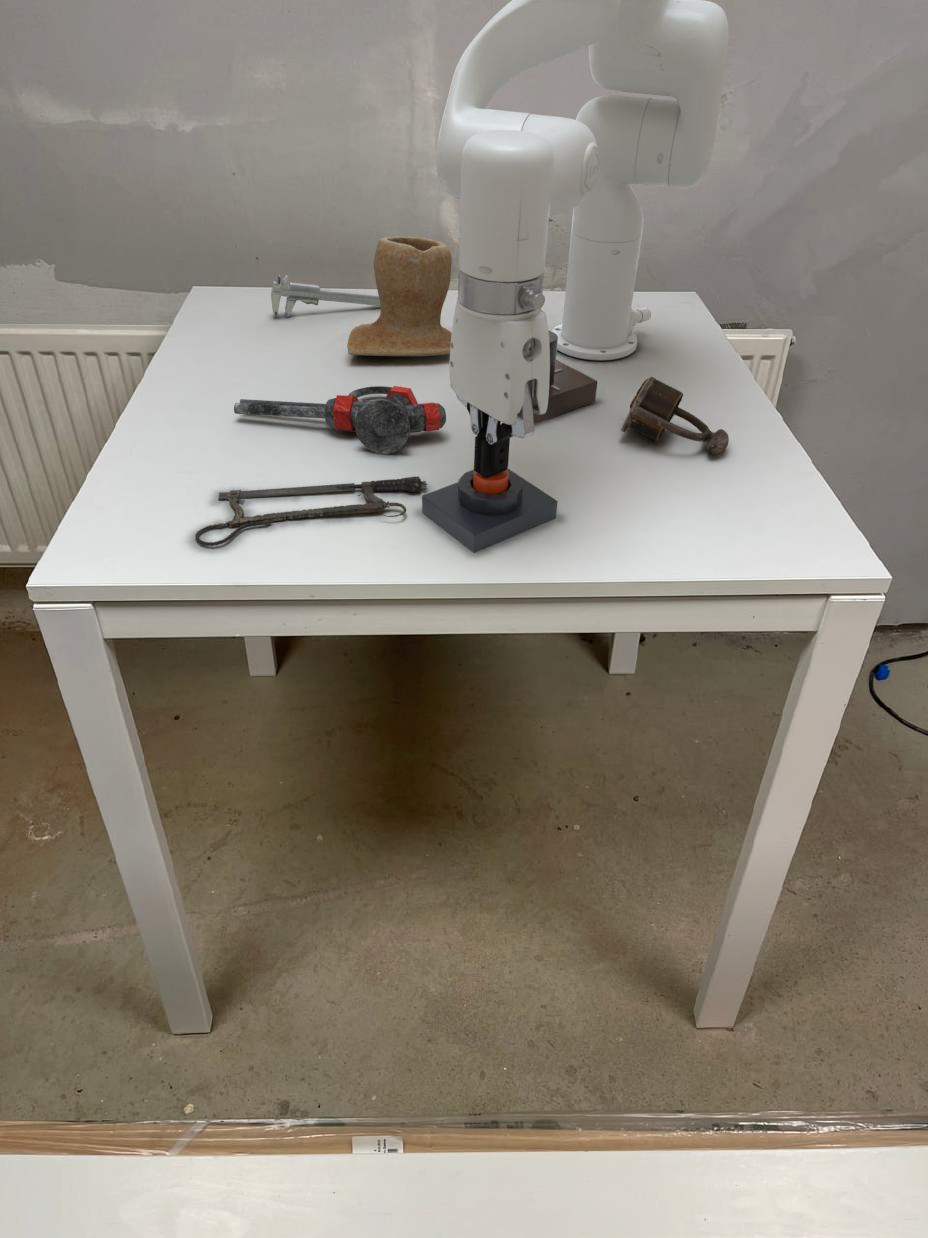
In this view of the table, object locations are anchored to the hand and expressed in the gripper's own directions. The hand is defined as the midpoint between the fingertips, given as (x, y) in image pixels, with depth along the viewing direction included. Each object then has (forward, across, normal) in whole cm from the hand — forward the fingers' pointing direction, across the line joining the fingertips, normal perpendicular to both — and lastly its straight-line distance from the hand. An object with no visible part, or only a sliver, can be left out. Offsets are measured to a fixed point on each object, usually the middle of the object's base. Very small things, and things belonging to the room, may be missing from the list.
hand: (490, 470), depth 91 cm
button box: (+6, 0, 0) cm, 6 cm away
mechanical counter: (+6, 0, -28) cm, 29 cm away
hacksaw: (+6, +11, +15) cm, 19 cm away
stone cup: (+6, +41, -17) cm, 45 cm away
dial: (+2, +18, -22) cm, 29 cm away
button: (+2, 0, 0) cm, 2 cm away
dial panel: (+5, +18, -22) cm, 29 cm away
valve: (+6, +27, +1) cm, 28 cm away
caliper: (+6, +58, -17) cm, 61 cm away
